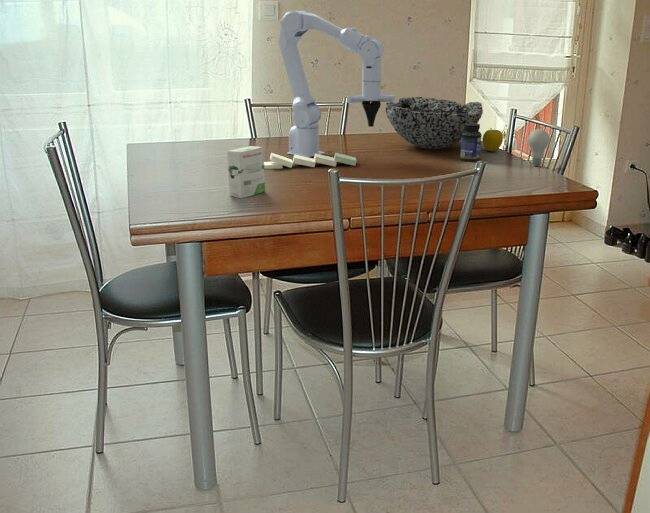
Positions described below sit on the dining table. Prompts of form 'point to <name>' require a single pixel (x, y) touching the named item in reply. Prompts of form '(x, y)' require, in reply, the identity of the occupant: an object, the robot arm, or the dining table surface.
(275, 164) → the tile
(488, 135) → the apple
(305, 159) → the tile
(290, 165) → the tile
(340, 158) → the tile
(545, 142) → the lightbulb
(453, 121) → the bowl
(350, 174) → the dining table surface
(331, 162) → the tile
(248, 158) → the ink box
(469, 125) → the pill bottle
